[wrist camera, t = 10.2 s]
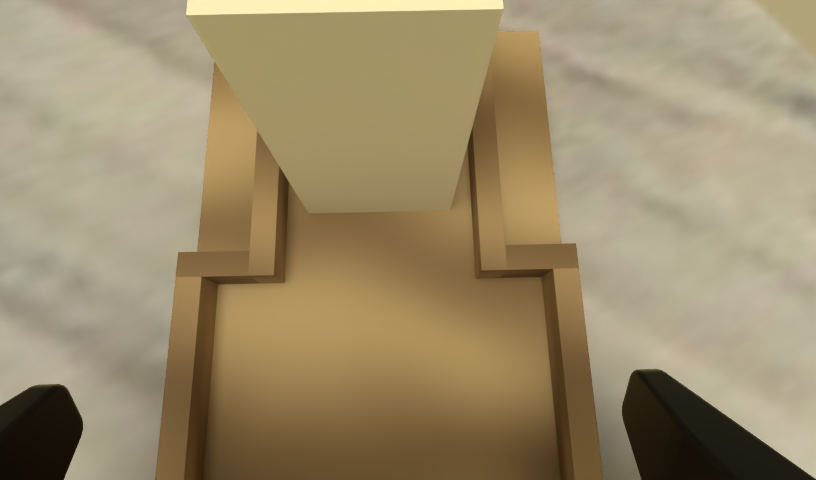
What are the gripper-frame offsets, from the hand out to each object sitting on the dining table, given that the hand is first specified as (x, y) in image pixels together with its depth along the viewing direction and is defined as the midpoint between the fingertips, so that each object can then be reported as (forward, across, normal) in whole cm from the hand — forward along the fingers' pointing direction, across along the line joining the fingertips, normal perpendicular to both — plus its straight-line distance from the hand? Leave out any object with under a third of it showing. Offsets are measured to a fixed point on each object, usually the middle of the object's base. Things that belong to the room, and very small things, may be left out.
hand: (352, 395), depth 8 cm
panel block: (+11, 0, 0) cm, 11 cm away
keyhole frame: (+9, 0, +3) cm, 10 cm away
